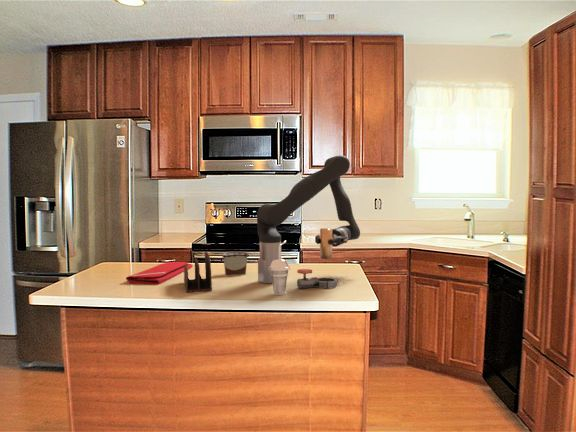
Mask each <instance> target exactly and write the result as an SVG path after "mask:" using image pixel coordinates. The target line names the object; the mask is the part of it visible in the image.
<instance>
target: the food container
mask: <svg viewBox="0 0 576 432" xmlns="http://www.w3.org/2000/svg"><path fill="white" fill-rule="evenodd" d="M248 258H249V253H248V252H246V251H226V252H223V254H222V260H223V264H224V273H225V276H226V275H228V276H240V275H241V276H242V275H243V274H244V275H246V273H247V265H248Z"/></svg>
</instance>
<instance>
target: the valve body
mask: <svg viewBox="0 0 576 432" xmlns="http://www.w3.org/2000/svg"><path fill="white" fill-rule="evenodd" d="M296 271H297V274H302V275H303V278H298V279H297V280H296V287H297V289H299V290H300V289H311V288H320V289H335V288H337V287H338V279H337V278H333V277H327V276H326V277H317V276H315V277H314V276H313V277H307V274H312V273H313V269H309V268H301V269H297V270H296Z"/></svg>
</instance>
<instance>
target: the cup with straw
mask: <svg viewBox="0 0 576 432" xmlns="http://www.w3.org/2000/svg"><path fill="white" fill-rule="evenodd" d="M286 243H287V240H284V241H283V242H281V244H279V258H276V259H274V260H273V261H272V263H271V265H270V266H269V268H268V269H269V270H270V273H271V276H272V283H271V285H272V291H273V295H276V296H283V295H286V292H287V291H286V290H287V283H288V282H287V281H288V280H287V279H288V276H289V270H290V269H291V266H290V265H289V264H288V262H287V260H286V259H284V258H282V257H281V258H280V247H281V248H282V245H284V244H286Z"/></svg>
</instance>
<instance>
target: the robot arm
mask: <svg viewBox="0 0 576 432" xmlns="http://www.w3.org/2000/svg"><path fill="white" fill-rule="evenodd" d="M350 165H351V162H350V160H349V158H348V157H347V156H345V155H340V154H339V155H334V156H331V157H329V158H327V159H326V160H325V161H324V164H323V168H322V169H320V170H318V171H315V172H313V173H311V174H309V175H308V176H306V177H304V178H302V179H300V180H299V181H298V182H297V183H295V184H294V186H292V188H291V190H290V192H289V193H288V195H287V196H286V197H285V198H283V199H281V201H279V202H276V203H275V204H271V203H267V204H266V203H264V204H262V205H260V206H259V208H258V210H257V214H256V225H257V236H258V237H259V258H258V260H257V281H258V282H260V283H262V284H272V276H271V273H270V270H269V269H268V268H269V266H270V265H271V263H272V261H273V260H274V259H276V258H279V244H281V243H282V235H281V234H280V233H279V232H278V229H277V227H278V226H280V225H281V224H283V223H284V222H285V221H286V220H287V219H288V218H289V217H290V216H291V215H292V214H293V213H294V212H295V211H296V210H298V209H300V208H301V207H302V206H303V205H304V204H306V203H307V202H308V201H310V200H312V199H313V198H314V197H316V196H317V195H318V194H319V193H320V192H322V190H324V189H325V188H326V187H328V185H329V188H330V189H331V192H332V193H331V194H332V196H333V199H334V205H335V209H336V214H337V219H338V220H339V221H340V222H347V223H348V224H347V225H342V226H339V227H336V228H331V229H332V239H330V245H332V248H333V247H339V246H342V245H343V244H346V243H348V242H349V241H353V240H357V239H359V238H360V235H361V229H360V227H359V225H358V224H357V222H356V219H355V217H354V214H353V209H352V204H351V201H350V197H349V196H348V194H347V192H346V190H345V189H344V187H343V185H342V182H341V177H342V176H344V175H346V174H347V173H348V172H349V169H350V167H351V166H350ZM314 239H315V241H314V243H315V244H316V245H320V234H317V235H315V238H314ZM280 258H282V246H281V247H280Z"/></svg>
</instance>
